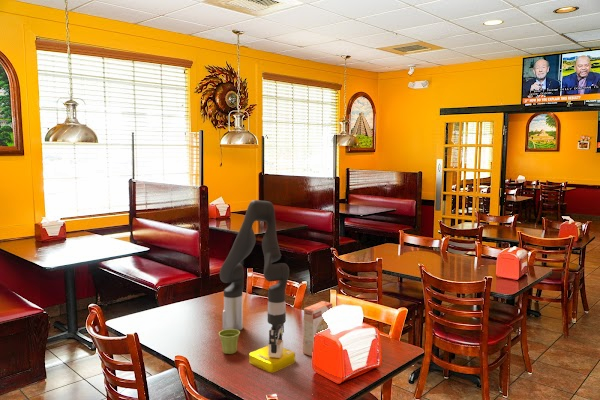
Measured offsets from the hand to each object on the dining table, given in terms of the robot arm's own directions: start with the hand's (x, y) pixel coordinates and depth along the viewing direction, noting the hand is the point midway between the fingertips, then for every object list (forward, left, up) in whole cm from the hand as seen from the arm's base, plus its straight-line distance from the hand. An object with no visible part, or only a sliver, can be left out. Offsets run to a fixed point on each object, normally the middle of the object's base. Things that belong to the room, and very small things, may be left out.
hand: (276, 348), depth 203 cm
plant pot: (-24, +8, -7) cm, 26 cm away
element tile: (-3, +2, -8) cm, 9 cm away
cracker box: (+14, +18, -7) cm, 24 cm away
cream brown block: (0, 0, -3) cm, 3 cm away
